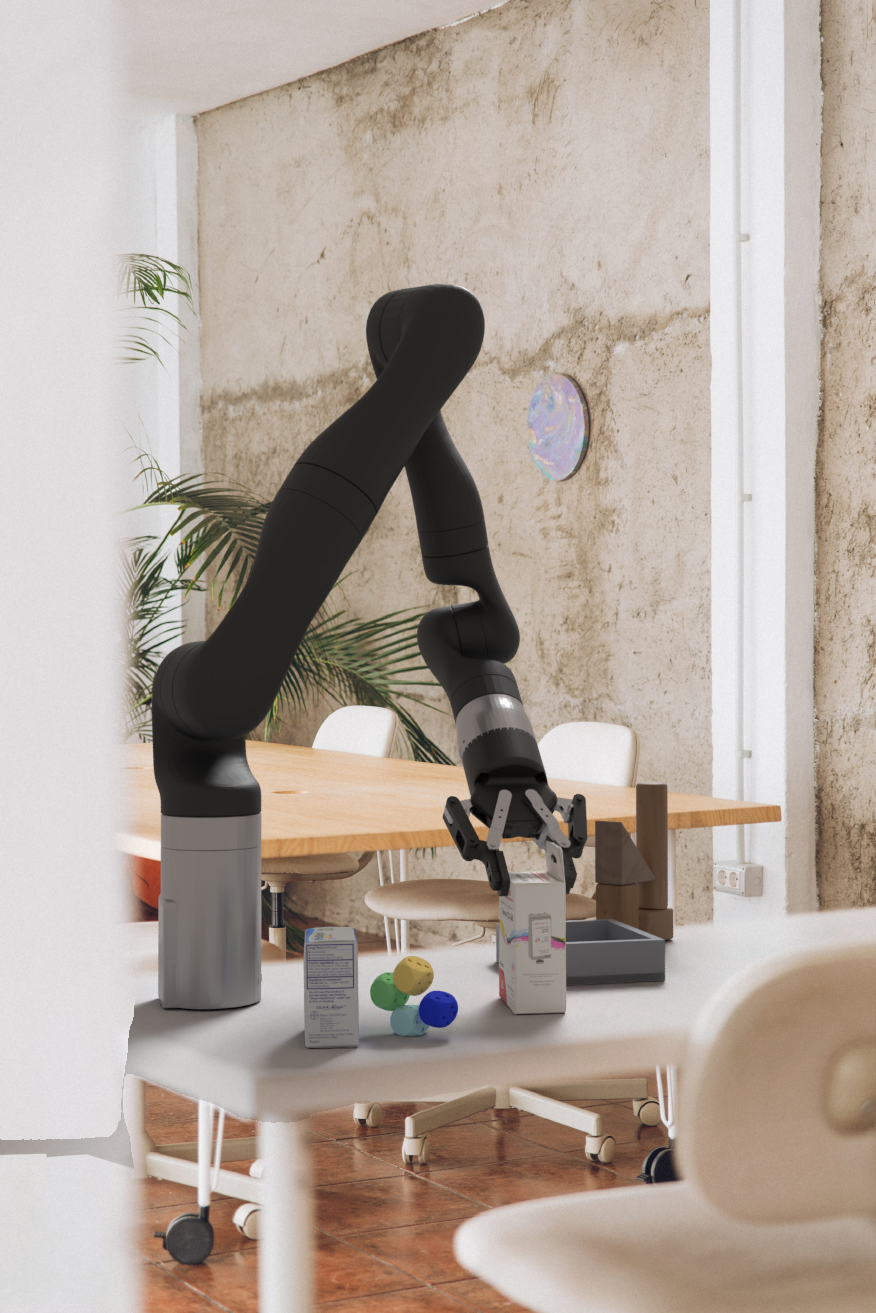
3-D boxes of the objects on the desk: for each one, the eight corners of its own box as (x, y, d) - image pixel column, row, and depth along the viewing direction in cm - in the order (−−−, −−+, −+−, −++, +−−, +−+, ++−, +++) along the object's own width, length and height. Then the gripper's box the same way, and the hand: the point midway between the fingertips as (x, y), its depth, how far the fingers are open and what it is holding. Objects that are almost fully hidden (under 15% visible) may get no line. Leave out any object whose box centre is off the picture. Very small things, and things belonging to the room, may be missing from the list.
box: (539, 986, 154) (538, 945, 154) (496, 961, 169) (496, 923, 169) (665, 980, 157) (664, 939, 158) (612, 955, 172) (612, 918, 172)
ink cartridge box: (495, 996, 149) (496, 838, 149) (548, 995, 150) (548, 838, 150) (512, 1015, 141) (513, 847, 141) (568, 1013, 141) (568, 847, 142)
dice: (461, 1037, 132) (461, 959, 132) (442, 1042, 130) (442, 963, 130) (385, 1025, 137) (385, 949, 137) (366, 1030, 135) (366, 954, 135)
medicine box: (359, 1048, 128) (359, 940, 128) (303, 1049, 128) (303, 940, 128) (356, 1027, 136) (356, 925, 136) (303, 1028, 135) (303, 926, 136)
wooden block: (594, 947, 178) (594, 785, 178) (647, 936, 186) (647, 781, 186) (622, 951, 175) (621, 787, 176) (674, 939, 183) (674, 782, 184)
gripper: (433, 725, 151) (466, 865, 139) (577, 724, 155) (622, 861, 143) (421, 778, 156) (452, 918, 144) (561, 776, 160) (602, 912, 148)
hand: (536, 889), depth 144 cm, fingers closed on ink cartridge box, 5 cm apart
